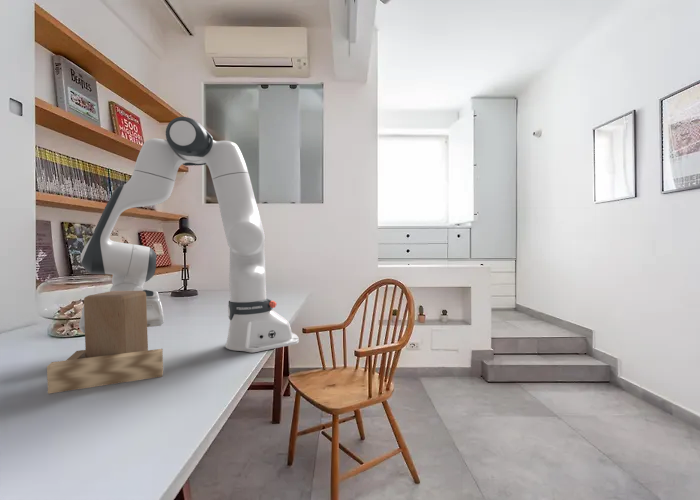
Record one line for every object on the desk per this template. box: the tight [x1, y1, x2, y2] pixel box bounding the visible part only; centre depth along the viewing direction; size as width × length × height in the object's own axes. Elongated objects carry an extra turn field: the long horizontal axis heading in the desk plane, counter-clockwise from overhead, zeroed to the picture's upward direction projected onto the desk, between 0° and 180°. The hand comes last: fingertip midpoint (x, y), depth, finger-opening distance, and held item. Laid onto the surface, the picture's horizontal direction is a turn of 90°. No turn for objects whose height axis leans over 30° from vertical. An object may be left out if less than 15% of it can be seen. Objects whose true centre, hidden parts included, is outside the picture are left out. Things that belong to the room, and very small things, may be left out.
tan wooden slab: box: [46, 348, 164, 395], centre depth 86 cm, size 22×11×6 cm, turn 114°
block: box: [83, 290, 149, 358], centre depth 90 cm, size 10×10×20 cm
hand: (121, 341), depth 96 cm, fingers closed
